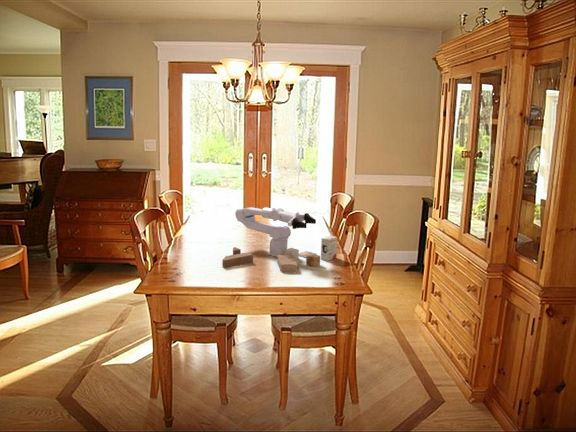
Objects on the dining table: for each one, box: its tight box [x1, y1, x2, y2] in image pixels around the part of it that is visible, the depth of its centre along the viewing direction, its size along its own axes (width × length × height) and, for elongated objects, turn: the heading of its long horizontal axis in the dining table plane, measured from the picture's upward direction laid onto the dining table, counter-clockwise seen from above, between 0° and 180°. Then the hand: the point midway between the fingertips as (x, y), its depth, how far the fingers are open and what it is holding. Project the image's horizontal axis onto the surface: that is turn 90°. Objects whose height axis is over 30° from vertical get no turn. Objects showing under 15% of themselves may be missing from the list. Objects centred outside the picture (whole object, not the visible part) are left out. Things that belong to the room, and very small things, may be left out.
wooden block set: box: [221, 246, 254, 269], centre depth 255 cm, size 17×6×18 cm
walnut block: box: [305, 254, 321, 268], centre depth 252 cm, size 5×5×5 cm
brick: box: [276, 254, 298, 273], centre depth 248 cm, size 17×8×5 cm, turn 8°
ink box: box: [320, 235, 338, 262], centre depth 263 cm, size 9×5×12 cm, turn 141°
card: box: [299, 251, 317, 259], centre depth 270 cm, size 7×10×1 cm
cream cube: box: [285, 247, 300, 261], centre depth 262 cm, size 5×5×5 cm
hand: (310, 223), depth 251 cm, fingers open, 7 cm apart
